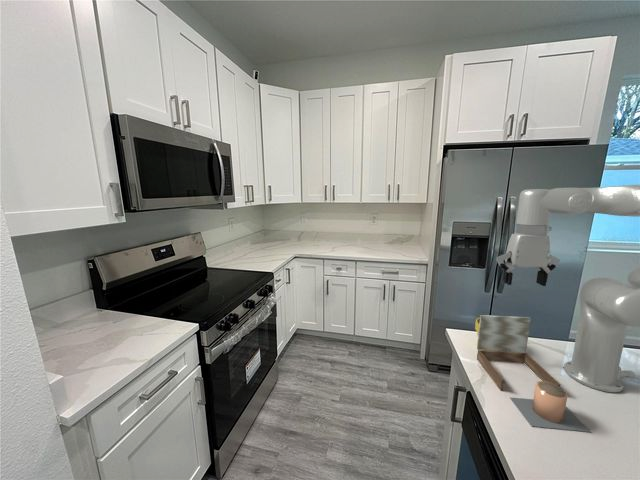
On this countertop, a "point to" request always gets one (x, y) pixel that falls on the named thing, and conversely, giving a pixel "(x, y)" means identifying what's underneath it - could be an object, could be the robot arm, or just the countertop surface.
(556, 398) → the flowerpot
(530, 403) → the potting mat
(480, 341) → the wooden bench
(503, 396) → the countertop surface
